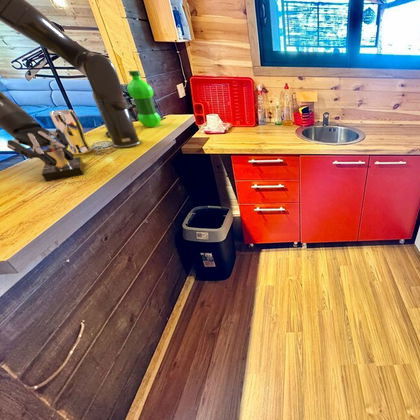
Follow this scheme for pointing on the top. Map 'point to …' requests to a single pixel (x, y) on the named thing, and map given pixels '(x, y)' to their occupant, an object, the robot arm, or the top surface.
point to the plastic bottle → (143, 100)
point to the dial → (57, 157)
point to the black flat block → (63, 170)
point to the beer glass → (71, 130)
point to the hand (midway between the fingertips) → (63, 161)
